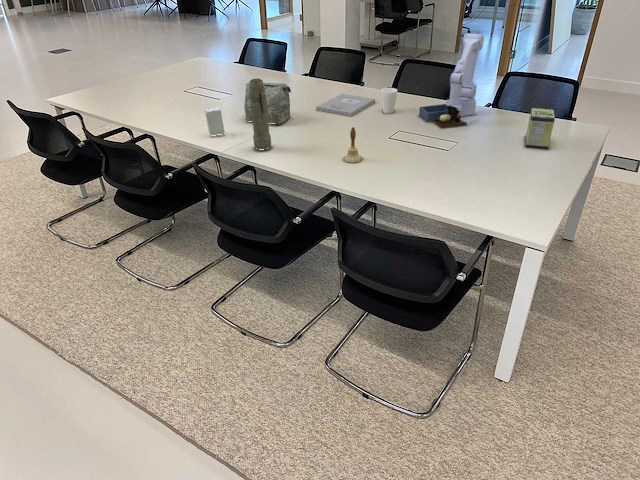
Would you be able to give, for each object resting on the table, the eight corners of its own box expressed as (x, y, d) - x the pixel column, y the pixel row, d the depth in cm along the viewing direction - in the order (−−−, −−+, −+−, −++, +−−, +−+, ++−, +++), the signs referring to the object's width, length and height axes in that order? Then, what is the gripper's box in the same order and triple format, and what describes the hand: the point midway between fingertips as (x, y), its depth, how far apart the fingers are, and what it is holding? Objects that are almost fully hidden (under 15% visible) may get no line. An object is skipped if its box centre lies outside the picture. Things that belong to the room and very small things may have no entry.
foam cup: (395, 114, 290) (396, 92, 283) (379, 114, 292) (380, 92, 285) (396, 109, 298) (397, 88, 291) (381, 109, 300) (382, 87, 293)
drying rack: (458, 119, 279) (459, 111, 277) (466, 125, 272) (467, 117, 269) (434, 122, 277) (435, 114, 274) (441, 128, 269) (442, 120, 267)
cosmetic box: (223, 132, 275) (219, 106, 267) (225, 135, 271) (221, 109, 263) (208, 134, 273) (204, 108, 265) (210, 138, 268) (205, 111, 260)
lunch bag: (295, 117, 293) (293, 80, 281) (282, 127, 279) (279, 88, 267) (257, 113, 301) (253, 76, 289) (242, 122, 287) (238, 85, 275)
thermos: (264, 153, 248) (256, 84, 229) (249, 148, 255) (241, 80, 236) (277, 148, 253) (271, 79, 234) (262, 143, 260) (255, 75, 241)
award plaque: (316, 110, 302) (316, 106, 301) (341, 96, 323) (341, 93, 322) (350, 116, 290) (350, 112, 289) (374, 102, 311) (374, 98, 310)
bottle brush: (458, 117, 275) (459, 111, 274) (461, 119, 273) (462, 113, 271) (438, 120, 273) (439, 114, 271) (441, 122, 270) (441, 116, 269)
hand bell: (344, 156, 242) (344, 124, 233) (361, 155, 242) (361, 124, 233) (344, 163, 235) (344, 131, 226) (361, 162, 235) (362, 130, 226)
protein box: (546, 138, 252) (553, 108, 244) (548, 149, 240) (555, 119, 231) (525, 136, 255) (531, 107, 247) (525, 147, 243) (531, 117, 234)
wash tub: (445, 112, 290) (445, 103, 287) (454, 118, 281) (455, 109, 278) (418, 115, 287) (419, 106, 284) (427, 122, 278) (428, 113, 275)
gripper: (442, 92, 271) (440, 116, 278) (454, 99, 259) (451, 124, 266) (454, 91, 272) (451, 114, 280) (466, 98, 260) (463, 123, 268)
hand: (452, 119), depth 273 cm, fingers closed
